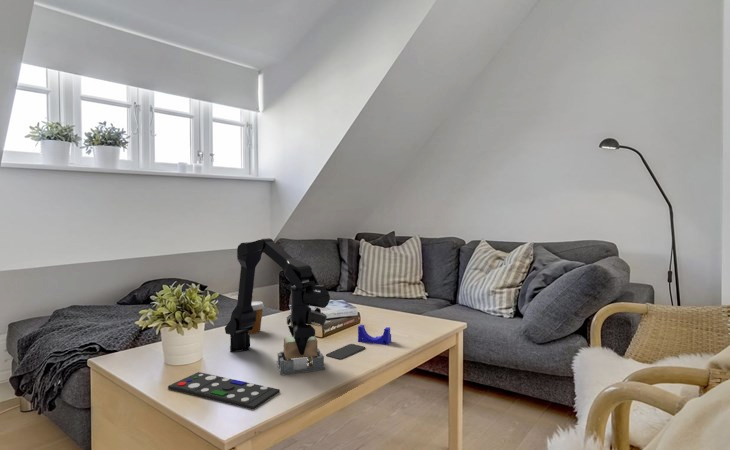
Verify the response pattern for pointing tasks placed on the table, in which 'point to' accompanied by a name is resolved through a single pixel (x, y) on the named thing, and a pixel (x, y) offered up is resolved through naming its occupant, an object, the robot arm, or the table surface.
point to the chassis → (300, 364)
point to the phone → (345, 351)
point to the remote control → (225, 390)
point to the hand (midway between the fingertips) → (300, 351)
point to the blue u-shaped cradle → (366, 338)
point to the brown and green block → (292, 349)
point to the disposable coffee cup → (257, 316)
